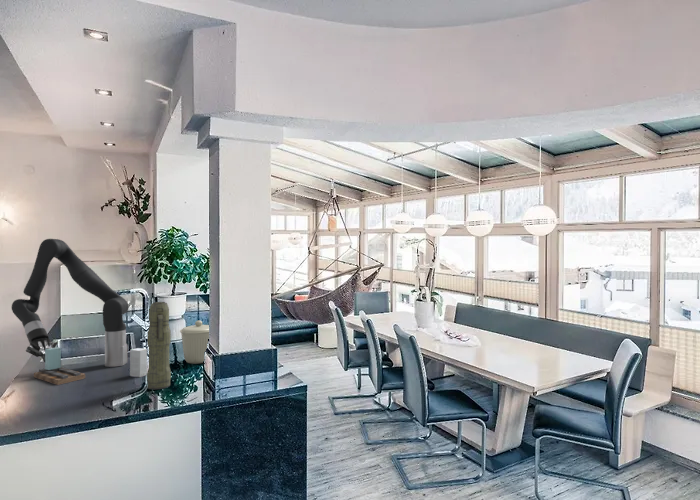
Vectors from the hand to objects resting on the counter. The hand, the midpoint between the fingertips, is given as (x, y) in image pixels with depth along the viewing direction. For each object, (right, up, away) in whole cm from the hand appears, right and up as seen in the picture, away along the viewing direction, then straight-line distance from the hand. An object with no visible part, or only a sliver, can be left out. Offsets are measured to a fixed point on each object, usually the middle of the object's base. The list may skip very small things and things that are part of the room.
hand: (48, 361), depth 195 cm
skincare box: (+43, -6, -2) cm, 43 cm away
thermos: (+59, -6, -18) cm, 62 cm away
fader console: (+9, -6, -6) cm, 12 cm away
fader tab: (+4, -4, -2) cm, 6 cm away
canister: (+61, -6, +23) cm, 66 cm away
